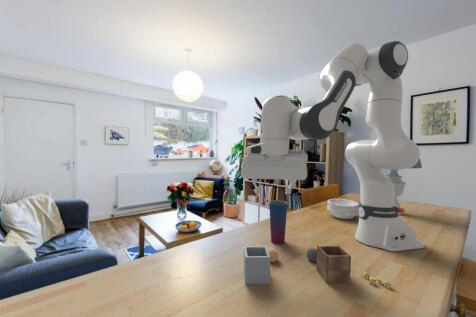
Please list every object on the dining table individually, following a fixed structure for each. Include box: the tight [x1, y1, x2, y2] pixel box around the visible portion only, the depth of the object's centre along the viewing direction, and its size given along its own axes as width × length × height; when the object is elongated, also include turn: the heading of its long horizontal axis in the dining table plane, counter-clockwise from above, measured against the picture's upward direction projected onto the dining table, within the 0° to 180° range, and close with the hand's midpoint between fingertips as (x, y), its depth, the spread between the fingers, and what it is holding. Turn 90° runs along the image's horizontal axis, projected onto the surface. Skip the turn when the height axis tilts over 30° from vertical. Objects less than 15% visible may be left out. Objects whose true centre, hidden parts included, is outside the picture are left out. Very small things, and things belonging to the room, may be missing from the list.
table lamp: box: [385, 157, 423, 216], centre depth 125 cm, size 24×24×40 cm
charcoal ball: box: [306, 247, 317, 263], centre depth 70 cm, size 4×4×4 cm
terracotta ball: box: [267, 248, 280, 263], centre depth 70 cm, size 4×4×4 cm
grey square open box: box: [243, 245, 271, 285], centre depth 60 cm, size 6×6×7 cm
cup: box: [268, 199, 288, 245], centre depth 85 cm, size 7×7×15 cm
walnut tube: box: [316, 245, 352, 284], centre depth 61 cm, size 6×6×7 cm
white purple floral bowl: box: [326, 198, 359, 220], centre depth 117 cm, size 15×15×8 cm
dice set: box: [362, 272, 392, 290], centre depth 59 cm, size 5×5×2 cm
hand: (272, 193), depth 70 cm, fingers open, 8 cm apart
